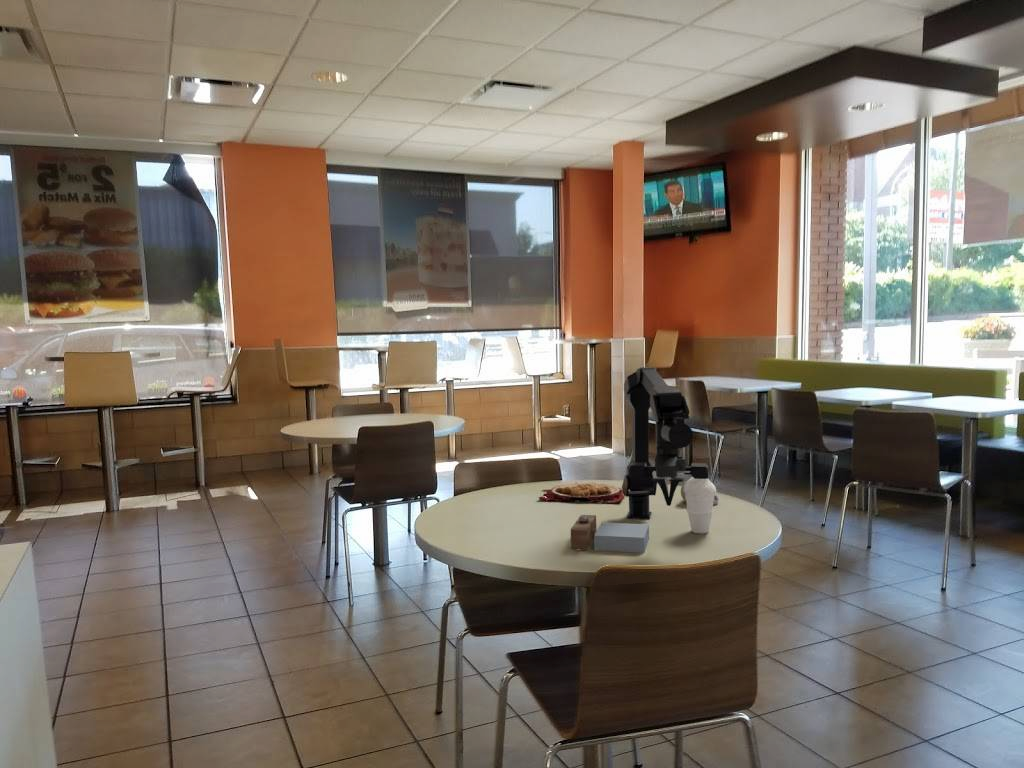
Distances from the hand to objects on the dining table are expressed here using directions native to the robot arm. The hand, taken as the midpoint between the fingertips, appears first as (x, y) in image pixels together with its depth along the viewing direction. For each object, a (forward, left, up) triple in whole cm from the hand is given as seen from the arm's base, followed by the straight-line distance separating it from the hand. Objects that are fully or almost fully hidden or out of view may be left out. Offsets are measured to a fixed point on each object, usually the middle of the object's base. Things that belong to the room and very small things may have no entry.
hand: (668, 505), depth 176 cm
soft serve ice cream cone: (-14, +7, -10) cm, 19 cm away
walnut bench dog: (0, -21, -10) cm, 23 cm away
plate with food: (-52, -30, -11) cm, 61 cm away
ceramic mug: (-47, +6, -10) cm, 48 cm away
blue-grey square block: (0, -11, -11) cm, 16 cm away
